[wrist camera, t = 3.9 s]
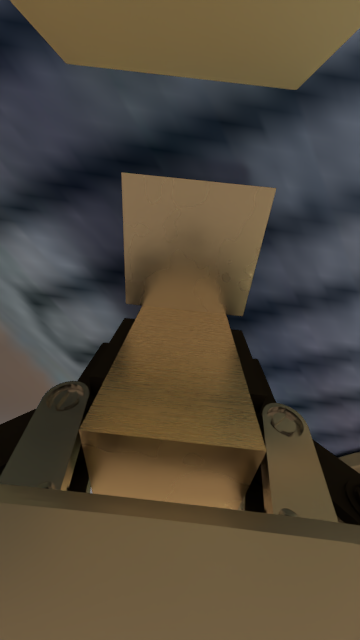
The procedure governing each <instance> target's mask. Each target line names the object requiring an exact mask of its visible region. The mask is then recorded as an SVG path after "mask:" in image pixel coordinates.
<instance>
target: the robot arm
mask: <svg viewBox="0 0 360 640" xmlns="http://www.w3.org/2000/svg"><path fill="white" fill-rule="evenodd" d="M134 321H135V319H129V318H124V320H123V321H122V323H121V325H120V326H119V328H118V329H117V331H116V333H115V334H114V336H113V338H112V339H111V341H110V342H109V343H103V344H102V345H101V346H100V348H99V349H98V351H97V352H96V354H95V355H94V357H93V358H92V360H91V361H90V363H89V364H88V366H87V367H86V369H85V370H84V372H83V373H82V375H81V376H80V378H79V379H78V381H68V382H63V383H60V384H58V385H56V386H54V387H52V388H51V389H50V390H49V391H47V392H46V393H45V395H44V396H43V397H42V399H41V401H40V403H39V405H38V407H37V409H34V410H32V411H30V412H27V413H25V414H23V415H21V416H18V417H16V418H14V419H12V420H10V421H7V422H5V423H3V424H1V425H0V640H360V452H357V453H352V454H349V455H345V456H342V457H338V458H337V457H336V456H335V455H333V454H332V453H330V452H329V451H328V450H326V449H325V448H324V447H322V446H321V445H319V444H318V443H317V442H315V441H314V440H313V439H312V437H311V434H310V430H309V427H308V425H307V423H306V421H305V420H304V418H303V417H302V416H301V415H300V414H299V413H298V412H297V411H295V410H294V409H292V408H290V407H289V406H286V405H284V404H280V403H276V401H275V399H274V396H273V394H272V392H271V389H270V387H269V384H268V382H267V380H266V377H265V375H264V372H263V370H262V368H261V365H260V363H259V361H258V360H257V359H252V356H251V353H250V351H249V348H248V346H247V343H246V340H245V338H244V335H243V333H242V331H241V330H232V329H231V333H232V336H233V340H234V343H235V346H236V350H237V353H238V356H239V360H240V363H241V367H242V370H243V373H244V377H245V380H246V383H247V387H248V390H249V394H250V397H251V400H252V404H253V407H254V410H255V414H256V417H257V421H258V424H259V427H260V431H261V434H262V437H263V441H264V444H265V447H266V453H265V455H264V457H263V459H262V461H261V463H260V465H259V467H258V470H257V472H256V474H255V476H254V478H253V480H252V482H251V484H250V486H249V488H248V490H247V492H246V494H245V496H244V498H243V500H242V502H241V510H234V509H225V508H217V507H208V506H199V505H190V504H181V503H173V502H164V501H155V500H146V499H137V498H128V497H120V496H110V495H101V494H91V493H90V489H91V483H90V479H89V474H88V470H87V465H86V461H85V456H84V452H83V447H82V443H81V438H80V434H79V429H80V427H81V425H82V423H83V421H84V419H85V417H86V415H87V413H88V411H89V409H90V407H91V405H92V403H93V401H94V400H95V398H96V396H97V394H98V392H99V390H100V388H101V386H102V384H103V382H104V380H105V378H106V376H107V374H108V372H109V370H110V368H111V366H112V364H113V362H114V360H115V358H116V357H117V355H118V353H119V351H120V349H121V347H122V345H123V343H124V341H125V339H126V337H127V335H128V333H129V331H130V329H131V327H132V325H133V323H134Z"/></svg>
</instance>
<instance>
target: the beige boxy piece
mask: <svg viewBox="0 0 360 640" xmlns="http://www.w3.org/2000/svg"><path fill="white" fill-rule="evenodd" d="M121 175H122V203H123V232H124V261H125V290H126V304H133V305H143V306H142V308H141V310H140V312H139V314H138V315H137V317H136V319H135V321H134V323H133V325H132V327H131V329H130V331H129V333H128V335H127V337H126V339H125V341H124V343H123V345H122V347H121V349H120V351H119V353H118V355H117V357H116V358H115V360H114V362H113V364H112V366H111V368H110V370H109V372H108V374H107V376H106V378H105V380H104V382H103V384H102V386H101V388H100V390H99V392H98V394H97V396H96V398H95V400H94V401H93V403H92V405H91V407H90V409H89V411H88V413H87V415H86V417H85V419H84V421H83V423H82V425H81V427H80V429H79V434H80V438H81V443H82V447H83V452H84V456H85V461H86V465H87V470H88V474H89V479H90V483H91V488H92V492H93V494H101V495H110V496H120V497H128V498H137V499H146V500H155V501H164V502H173V503H181V504H190V505H199V506H208V507H217V508H225V509H234V510H238V508H239V506H240V504H241V502H242V500H243V498H244V496H245V494H246V492H247V490H248V488H249V486H250V484H251V482H252V480H253V478H254V476H255V474H256V472H257V470H258V467H259V465H260V463H261V461H262V459H263V457H264V455H265V453H266V447H265V444H264V441H263V437H262V434H261V431H260V427H259V424H258V421H257V417H256V414H255V410H254V407H253V404H252V400H251V397H250V394H249V390H248V387H247V383H246V380H245V377H244V373H243V370H242V367H241V363H240V360H239V356H238V353H237V350H236V346H235V343H234V340H233V336H232V333H231V329H230V326H229V323H228V319H227V316H226V314H227V315H237V316H243V313H244V309H245V306H246V302H247V298H248V294H249V290H250V287H251V283H252V279H253V275H254V271H255V268H256V264H257V260H258V256H259V252H260V248H261V245H262V241H263V237H264V233H265V229H266V226H267V222H268V218H269V214H270V210H271V206H272V203H273V199H274V195H275V191H276V188H269V187H259V186H249V185H239V184H230V183H220V182H210V181H200V180H190V179H181V178H171V177H161V176H151V175H142V174H132V173H122V172H121Z"/></svg>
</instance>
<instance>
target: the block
mask: <svg viewBox="0 0 360 640" xmlns="http://www.w3.org/2000/svg"><path fill="white" fill-rule="evenodd" d="M10 1H11V3H12V4H13V5H14V6H15V7H16V8H17V9H18V10H19V11H20V13H21V14H22V15H23V16H24V17H25V18H26V19H27V20H28V21H29V23H30V24H31V25H32V26H33V27H34V28H35V29H36V30H37V31H38V33H39V34H40V35H41V36H42V37H43V38H44V39H45V40H46V41H47V43H48V44H49V45H50V46H51V47H52V48H53V49H54V50H55V52H56V53H57V54H58V55H59V56H60V57H61V58H62V59H63V60H64V62H65V63H66V64H73V65H81V66H90V67H99V68H108V69H116V70H125V71H134V72H143V73H151V74H160V75H169V76H178V77H186V78H195V79H204V80H212V81H221V82H230V83H239V84H247V85H256V86H265V87H274V88H282V89H291V90H297V89H298V88H299V87H300V86H301V85H302V84H303V83H304V82H305V81H306V80H307V79H308V78H309V77H310V76H311V75H312V74H313V73H314V72H315V71H316V70H317V69H318V68H319V67H320V66H321V65H322V64H323V63H324V62H325V61H326V60H328V59H329V58H330V57H331V56H332V55H333V54H334V53H335V52H336V51H337V50H338V49H339V48H340V47H341V46H342V45H343V44H344V43H345V42H346V41H347V40H348V39H349V38H350V37H351V36H352V35H353V34H354V33H355V32H356V31H357V30H358V29H359V28H360V0H10Z"/></svg>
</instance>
